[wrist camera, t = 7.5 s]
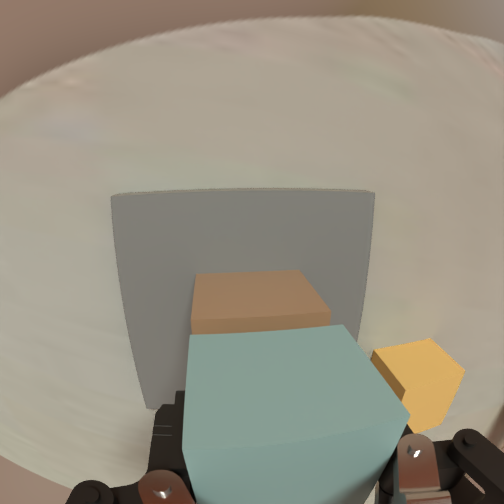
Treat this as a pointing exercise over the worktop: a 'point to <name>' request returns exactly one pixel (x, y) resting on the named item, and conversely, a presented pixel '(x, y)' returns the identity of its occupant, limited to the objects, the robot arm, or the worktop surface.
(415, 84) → the worktop surface
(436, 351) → the ochre block
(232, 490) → the teal block
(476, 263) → the worktop surface
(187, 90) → the worktop surface
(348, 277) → the baseplate
